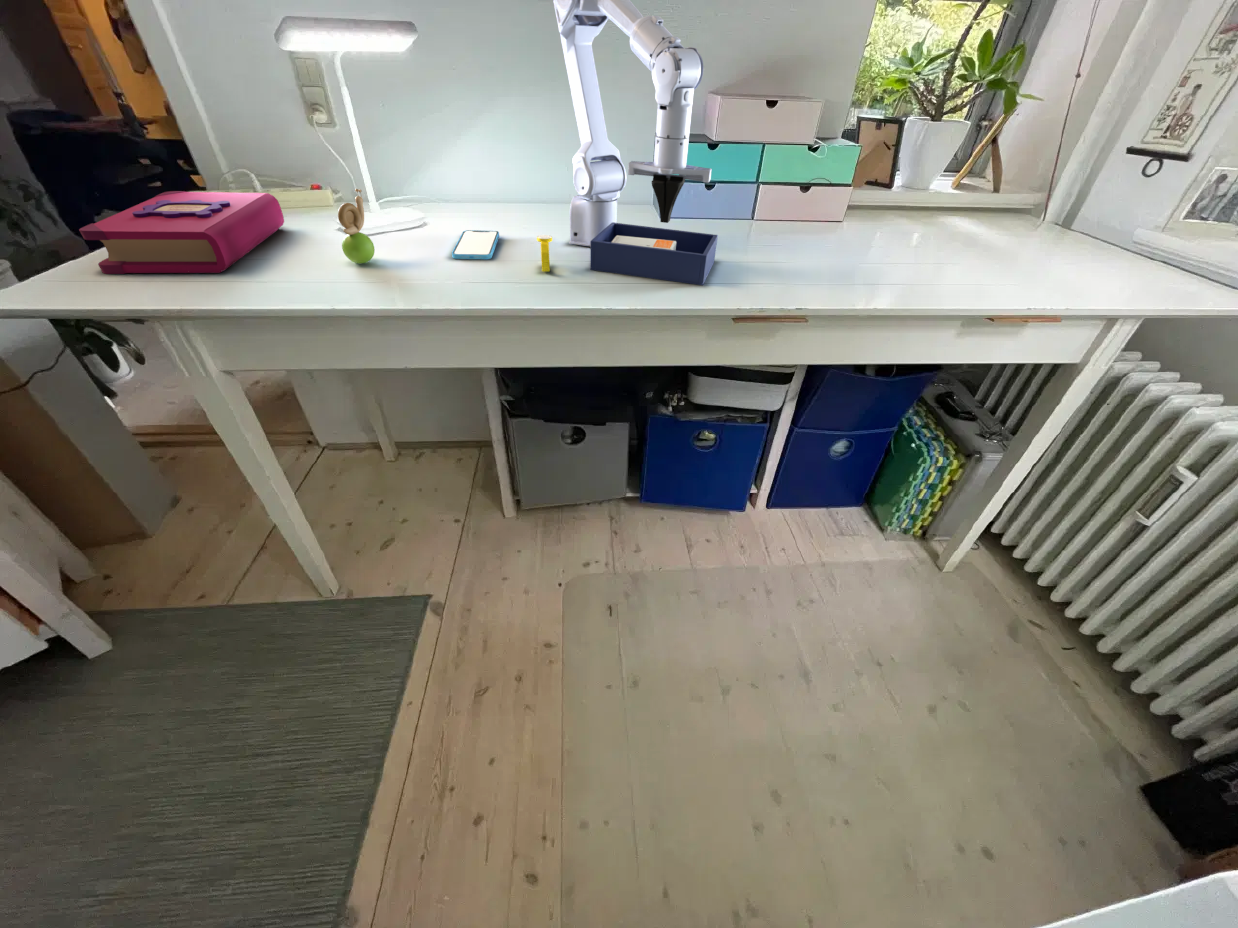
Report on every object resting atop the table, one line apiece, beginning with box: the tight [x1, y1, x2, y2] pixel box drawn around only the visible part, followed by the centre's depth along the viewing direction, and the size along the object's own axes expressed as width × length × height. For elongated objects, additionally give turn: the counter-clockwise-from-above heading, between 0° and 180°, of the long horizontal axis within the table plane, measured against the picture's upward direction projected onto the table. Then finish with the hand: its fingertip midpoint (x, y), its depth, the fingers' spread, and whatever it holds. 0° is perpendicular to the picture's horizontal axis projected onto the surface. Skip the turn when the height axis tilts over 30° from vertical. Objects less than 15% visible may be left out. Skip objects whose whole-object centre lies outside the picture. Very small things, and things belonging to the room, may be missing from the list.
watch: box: [536, 234, 553, 273], centre depth 101 cm, size 6×3×6 cm, turn 6°
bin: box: [589, 222, 719, 286], centre depth 105 cm, size 22×14×5 cm, turn 74°
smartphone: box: [451, 229, 500, 260], centre depth 112 cm, size 8×1×15 cm
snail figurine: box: [337, 188, 375, 264], centre depth 99 cm, size 5×6×12 cm
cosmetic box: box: [612, 235, 676, 250], centre depth 105 cm, size 6×4×12 cm
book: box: [78, 190, 285, 275], centre depth 103 cm, size 21×28×8 cm
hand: (665, 221), depth 102 cm, fingers closed
